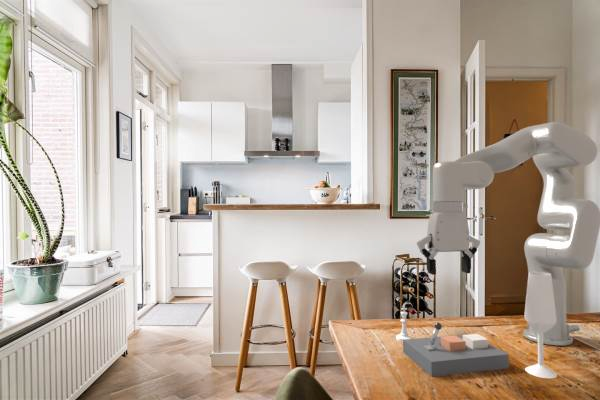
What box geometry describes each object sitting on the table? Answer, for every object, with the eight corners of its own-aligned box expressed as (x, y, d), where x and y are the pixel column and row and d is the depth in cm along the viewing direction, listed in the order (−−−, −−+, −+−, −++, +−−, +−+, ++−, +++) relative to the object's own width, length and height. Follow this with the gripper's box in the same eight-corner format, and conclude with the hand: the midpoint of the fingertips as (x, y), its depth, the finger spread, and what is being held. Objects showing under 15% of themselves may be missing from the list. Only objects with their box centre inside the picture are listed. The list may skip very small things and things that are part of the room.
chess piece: (413, 342, 115) (413, 308, 115) (396, 341, 116) (395, 308, 116) (412, 336, 119) (411, 304, 119) (395, 335, 120) (395, 303, 120)
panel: (471, 346, 111) (471, 332, 111) (508, 368, 96) (508, 352, 96) (403, 352, 107) (403, 338, 107) (431, 376, 92) (431, 360, 92)
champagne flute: (524, 364, 99) (523, 270, 99) (556, 369, 95) (555, 272, 95) (524, 374, 93) (523, 274, 93) (558, 380, 90) (557, 277, 90)
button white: (477, 342, 106) (477, 333, 106) (488, 348, 101) (487, 339, 101) (462, 344, 105) (462, 334, 105) (473, 350, 100) (472, 340, 100)
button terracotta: (455, 344, 104) (455, 335, 104) (465, 351, 100) (465, 341, 100) (440, 346, 104) (440, 336, 104) (450, 352, 99) (450, 342, 99)
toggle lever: (431, 345, 102) (440, 323, 102) (435, 348, 100) (444, 325, 100) (425, 343, 101) (434, 320, 102) (429, 345, 100) (438, 322, 100)
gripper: (470, 207, 107) (470, 269, 107) (411, 208, 105) (411, 271, 105) (487, 208, 100) (487, 274, 100) (424, 209, 98) (424, 277, 97)
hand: (448, 273), depth 102 cm, fingers open, 9 cm apart
